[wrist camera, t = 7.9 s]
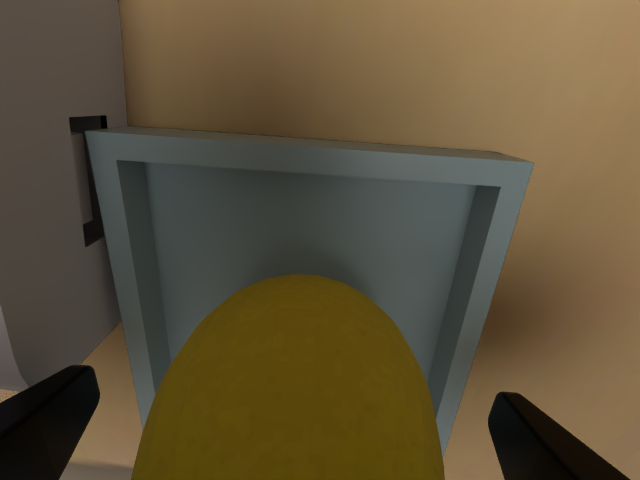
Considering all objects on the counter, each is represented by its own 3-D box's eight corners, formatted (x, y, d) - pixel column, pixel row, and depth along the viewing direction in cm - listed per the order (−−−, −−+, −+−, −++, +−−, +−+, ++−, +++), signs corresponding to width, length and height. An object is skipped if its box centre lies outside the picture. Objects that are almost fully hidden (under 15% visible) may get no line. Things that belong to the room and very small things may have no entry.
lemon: (418, 248, 10) (715, 730, 2) (364, 385, 12) (430, 858, 4) (230, 206, 9) (-141, 638, 2) (209, 356, 11) (0, 829, 4)
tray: (496, 151, 9) (534, 162, 8) (427, 415, 13) (442, 460, 11) (128, 126, 9) (84, 130, 7) (168, 399, 13) (145, 443, 11)
